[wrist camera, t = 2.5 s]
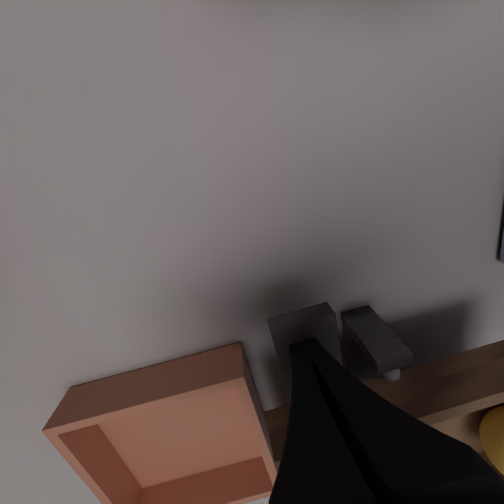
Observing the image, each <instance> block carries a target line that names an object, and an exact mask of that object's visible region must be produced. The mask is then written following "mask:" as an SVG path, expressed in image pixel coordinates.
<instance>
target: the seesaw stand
mask: <svg viewBox="0 0 504 504" xmlns="http://www.w3.org/2000/svg"><path fill="white" fill-rule="evenodd" d="M341 317H342V325H343V332H344V339H345V347H346V354H347V362H348V369H349V372H350V373H352V374H353V375H354V376H355V377H356V378H358V379H359V380H360V381H361V382H365V381H369V380H372V379H375V378H379V377H380V374H381V373H385V372H388V371H392V370H396V369H400V368H403V367H407V366H411V365H414V353H413V352H412V351H411V350H410V349H409V348H408V347H407V346H406V344H405V343H404V342H403V341H402V340H401V339H400V338H399V337H398V336H397V335H396V334H395V333H394V332H393V331H392V330H391V328H390V327H389V326H388V325H387V324H386V323H385V322H384V321H383V320H382V319H381V318H380V317H379V316H378V315H377V314H376V313H375V311H374V310H373V309H372V308H371V307H370V306H365V307H361V308H358V309H354V310H350V311H346V312H343V313H341Z"/></svg>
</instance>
